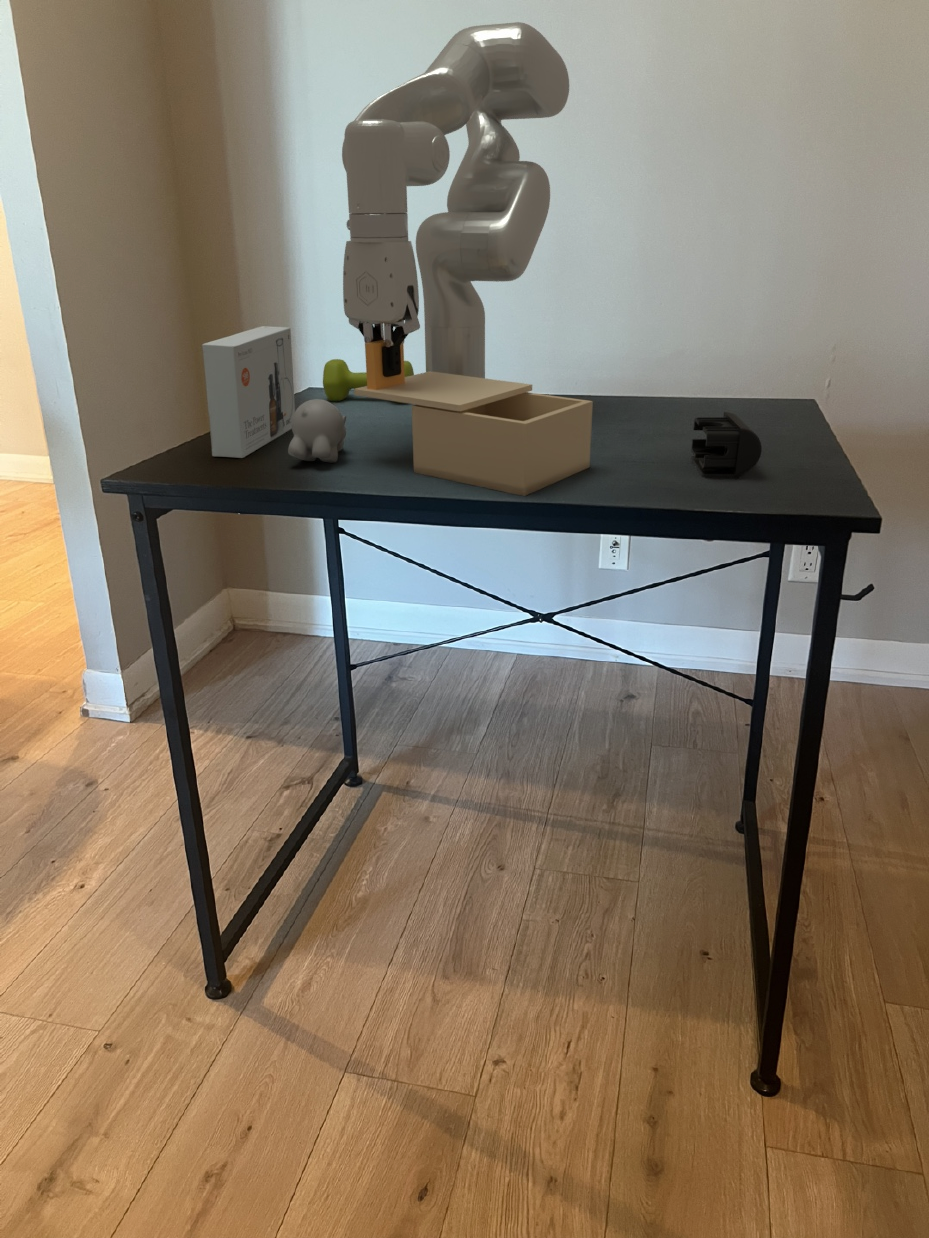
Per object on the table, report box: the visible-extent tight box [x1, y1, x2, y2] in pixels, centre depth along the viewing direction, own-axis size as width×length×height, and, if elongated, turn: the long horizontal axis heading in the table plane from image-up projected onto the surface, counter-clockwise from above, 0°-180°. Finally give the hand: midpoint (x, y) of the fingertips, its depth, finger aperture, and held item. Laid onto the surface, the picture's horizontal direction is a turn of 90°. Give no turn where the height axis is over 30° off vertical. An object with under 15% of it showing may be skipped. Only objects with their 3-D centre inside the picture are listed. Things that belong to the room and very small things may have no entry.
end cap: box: [690, 411, 762, 479], centre depth 119 cm, size 10×7×7 cm
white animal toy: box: [287, 398, 347, 464], centre depth 126 cm, size 7×12×8 cm, turn 162°
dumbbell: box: [322, 358, 415, 404], centre depth 162 cm, size 16×8×7 cm, turn 79°
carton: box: [411, 391, 594, 497], centre depth 119 cm, size 16×18×9 cm
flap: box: [353, 340, 533, 411], centre depth 121 cm, size 16×18×7 cm
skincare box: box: [201, 325, 296, 459], centre depth 133 cm, size 21×5×16 cm, turn 168°
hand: (385, 373), depth 122 cm, fingers closed on flap
